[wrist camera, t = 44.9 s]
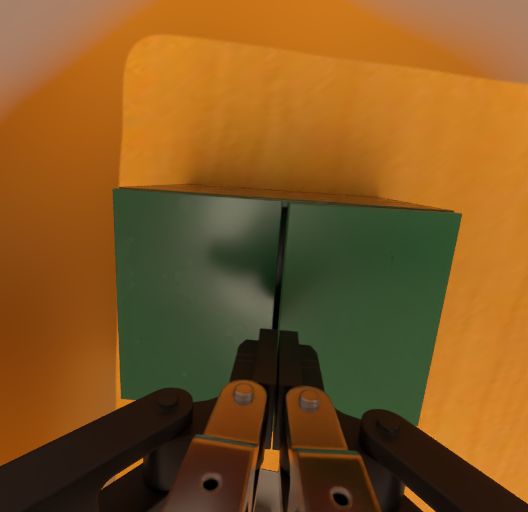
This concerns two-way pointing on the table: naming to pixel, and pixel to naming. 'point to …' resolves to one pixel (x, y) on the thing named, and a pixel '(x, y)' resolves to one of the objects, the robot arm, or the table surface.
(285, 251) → the green box lid flap
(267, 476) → the platform
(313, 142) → the table surface
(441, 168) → the table surface
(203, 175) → the table surface
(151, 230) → the green flap box
